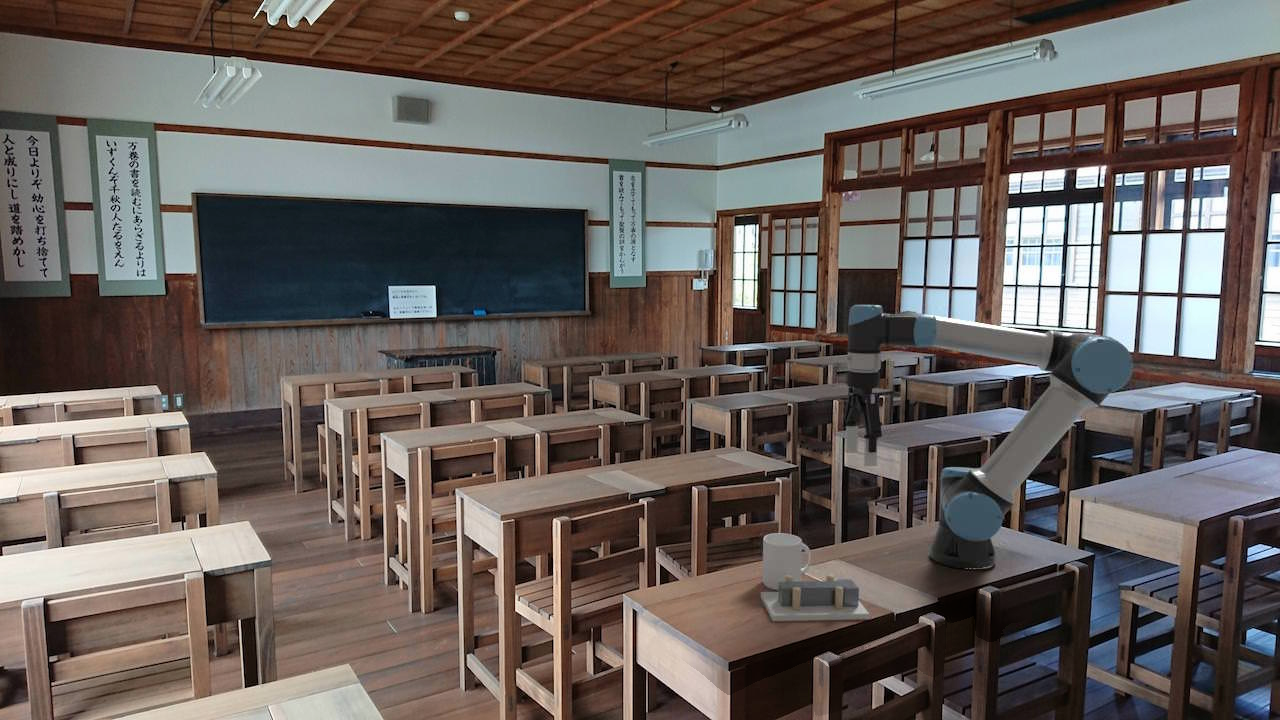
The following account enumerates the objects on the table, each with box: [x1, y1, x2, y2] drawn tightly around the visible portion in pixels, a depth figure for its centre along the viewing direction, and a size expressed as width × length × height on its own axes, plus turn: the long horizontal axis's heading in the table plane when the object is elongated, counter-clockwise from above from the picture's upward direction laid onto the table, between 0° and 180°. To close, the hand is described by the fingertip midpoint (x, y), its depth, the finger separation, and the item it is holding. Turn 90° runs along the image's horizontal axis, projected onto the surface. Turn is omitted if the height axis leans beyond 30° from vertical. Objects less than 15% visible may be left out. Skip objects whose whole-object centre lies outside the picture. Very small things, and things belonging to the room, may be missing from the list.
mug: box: [762, 532, 812, 592], centre depth 182 cm, size 9×12×11 cm
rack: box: [760, 574, 870, 622], centre depth 169 cm, size 20×12×6 cm, turn 93°
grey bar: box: [777, 578, 860, 607], centre depth 169 cm, size 16×5×4 cm, turn 93°
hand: (860, 458), depth 190 cm, fingers open, 13 cm apart
